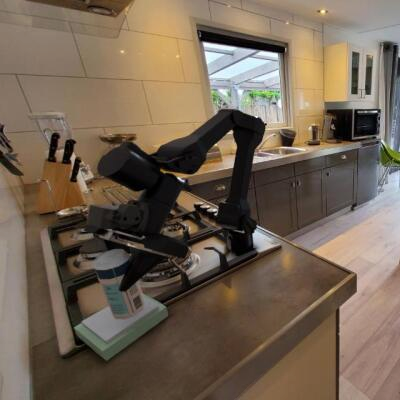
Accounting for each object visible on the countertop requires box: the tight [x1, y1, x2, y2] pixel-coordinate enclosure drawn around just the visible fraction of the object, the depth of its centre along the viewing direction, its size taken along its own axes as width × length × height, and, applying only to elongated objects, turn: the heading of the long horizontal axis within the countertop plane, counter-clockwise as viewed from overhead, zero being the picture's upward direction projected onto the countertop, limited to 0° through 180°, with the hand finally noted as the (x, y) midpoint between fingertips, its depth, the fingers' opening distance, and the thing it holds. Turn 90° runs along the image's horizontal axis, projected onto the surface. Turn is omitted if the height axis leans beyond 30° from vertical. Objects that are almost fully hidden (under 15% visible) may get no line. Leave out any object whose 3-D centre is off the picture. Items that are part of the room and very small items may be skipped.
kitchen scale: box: [73, 292, 169, 362], centre depth 49 cm, size 11×10×3 cm
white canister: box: [92, 249, 145, 320], centre depth 43 cm, size 5×5×12 cm
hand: (111, 287), depth 42 cm, fingers closed on white canister, 5 cm apart
